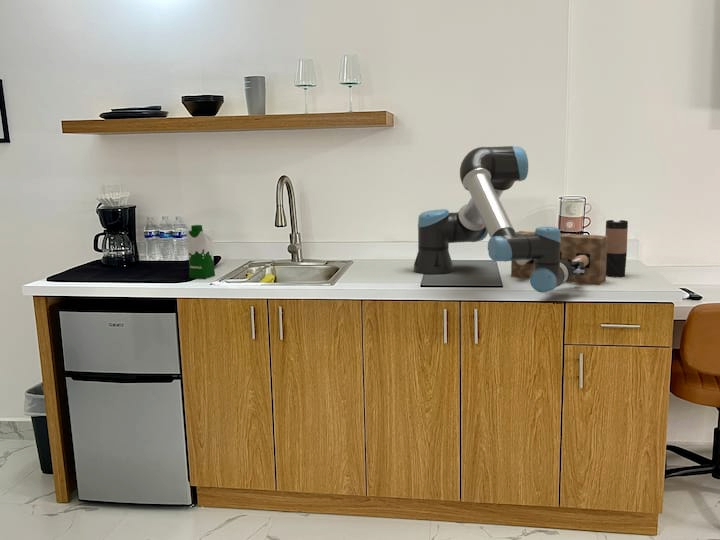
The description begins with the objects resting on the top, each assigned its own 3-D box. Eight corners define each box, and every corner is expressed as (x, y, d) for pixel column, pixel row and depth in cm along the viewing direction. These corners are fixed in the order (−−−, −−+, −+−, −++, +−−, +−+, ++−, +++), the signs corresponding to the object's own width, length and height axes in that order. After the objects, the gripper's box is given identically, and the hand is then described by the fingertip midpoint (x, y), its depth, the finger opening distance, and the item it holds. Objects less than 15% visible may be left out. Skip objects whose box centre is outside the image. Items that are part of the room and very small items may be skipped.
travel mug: (614, 278, 265) (617, 222, 262) (599, 274, 272) (601, 220, 268) (630, 275, 269) (632, 221, 265) (614, 272, 275) (616, 219, 272)
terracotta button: (573, 267, 255) (573, 255, 254) (579, 264, 260) (579, 252, 260) (586, 268, 252) (586, 256, 252) (592, 265, 258) (592, 253, 257)
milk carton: (186, 278, 280) (183, 226, 276) (198, 274, 288) (195, 223, 285) (206, 279, 277) (203, 226, 273) (218, 275, 285) (215, 223, 282)
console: (511, 276, 271) (511, 233, 268) (519, 273, 278) (520, 231, 275) (599, 284, 254) (601, 238, 251) (605, 280, 260) (607, 235, 258)
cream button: (515, 264, 263) (515, 252, 262) (522, 261, 269) (522, 249, 268) (527, 265, 261) (527, 253, 260) (533, 262, 267) (534, 250, 266)
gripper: (537, 283, 238) (560, 271, 257) (577, 286, 231) (598, 274, 250) (537, 260, 236) (561, 250, 256) (578, 263, 229) (599, 252, 249)
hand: (579, 262), depth 253 cm, fingers closed
